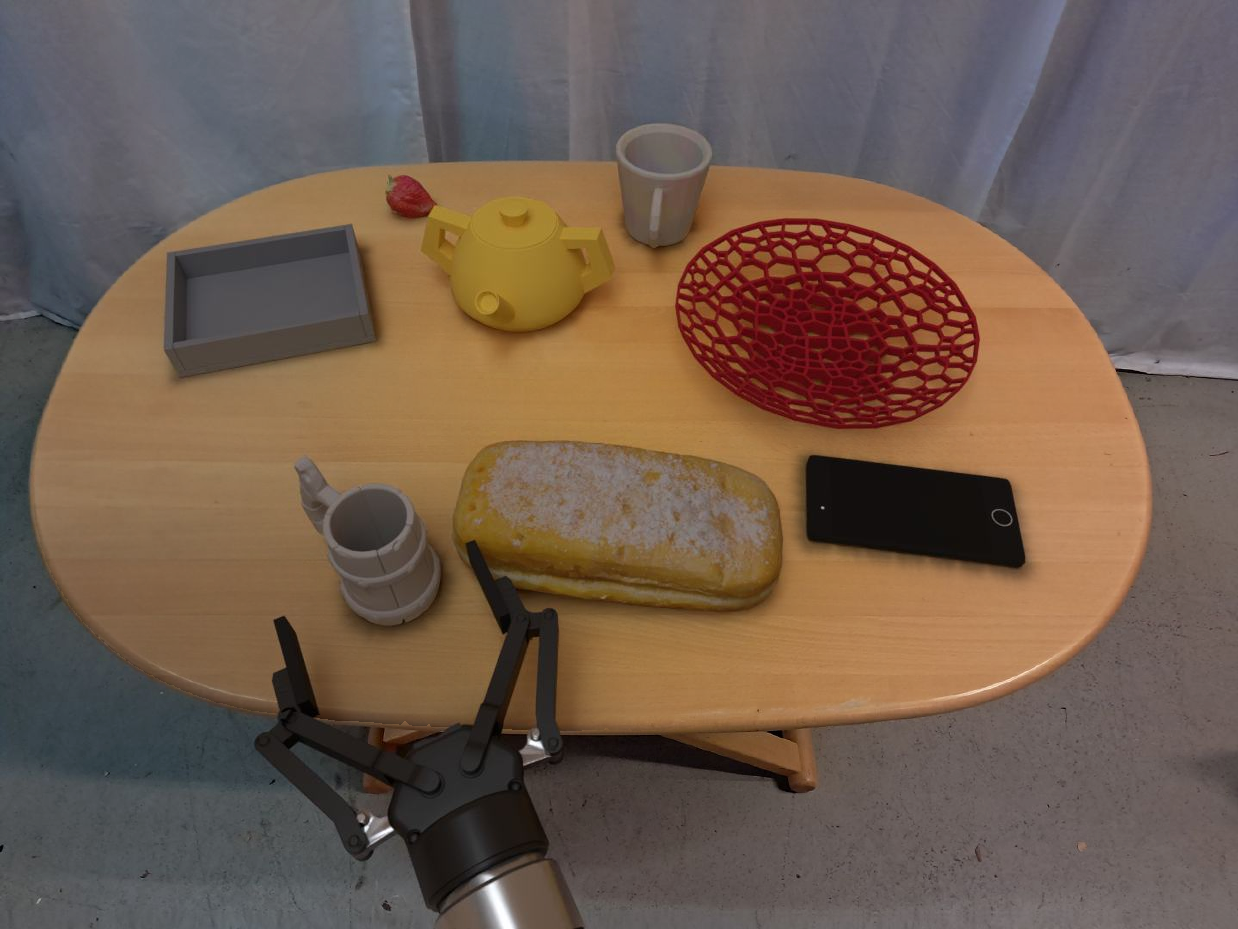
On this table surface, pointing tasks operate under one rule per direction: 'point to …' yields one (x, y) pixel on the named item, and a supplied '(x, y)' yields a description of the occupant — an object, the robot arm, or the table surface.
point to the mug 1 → (373, 546)
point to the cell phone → (912, 510)
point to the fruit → (408, 197)
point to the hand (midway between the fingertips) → (381, 586)
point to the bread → (621, 524)
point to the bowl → (824, 327)
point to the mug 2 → (661, 180)
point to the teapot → (517, 262)
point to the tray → (265, 300)
